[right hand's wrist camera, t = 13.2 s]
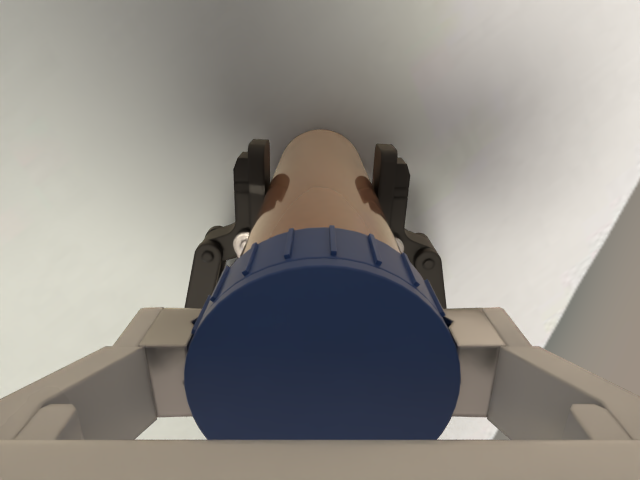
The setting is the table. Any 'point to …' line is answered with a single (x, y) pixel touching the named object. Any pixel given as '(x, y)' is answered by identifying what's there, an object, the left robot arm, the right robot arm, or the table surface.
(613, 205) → the table surface
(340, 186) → the brown cylinder
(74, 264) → the table surface
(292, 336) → the lid
